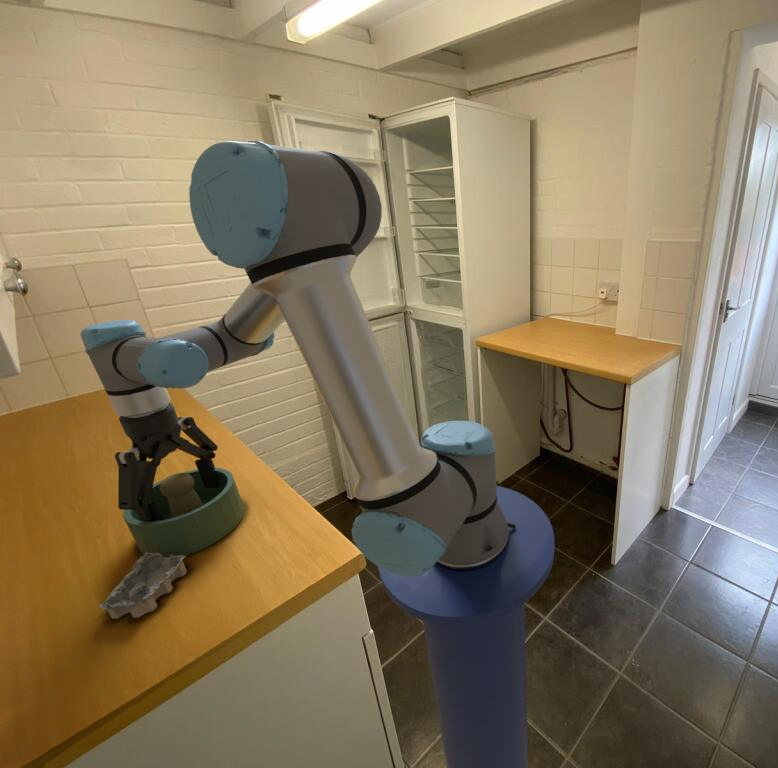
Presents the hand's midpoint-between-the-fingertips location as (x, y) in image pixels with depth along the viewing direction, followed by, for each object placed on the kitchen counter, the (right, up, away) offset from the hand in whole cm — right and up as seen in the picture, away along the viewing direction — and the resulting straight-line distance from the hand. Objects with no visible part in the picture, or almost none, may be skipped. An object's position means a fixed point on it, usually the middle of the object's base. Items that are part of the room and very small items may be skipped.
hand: (187, 507), depth 82 cm
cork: (0, -4, +2) cm, 4 cm away
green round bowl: (0, -4, +2) cm, 5 cm away
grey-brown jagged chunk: (+4, -11, -12) cm, 16 cm away
